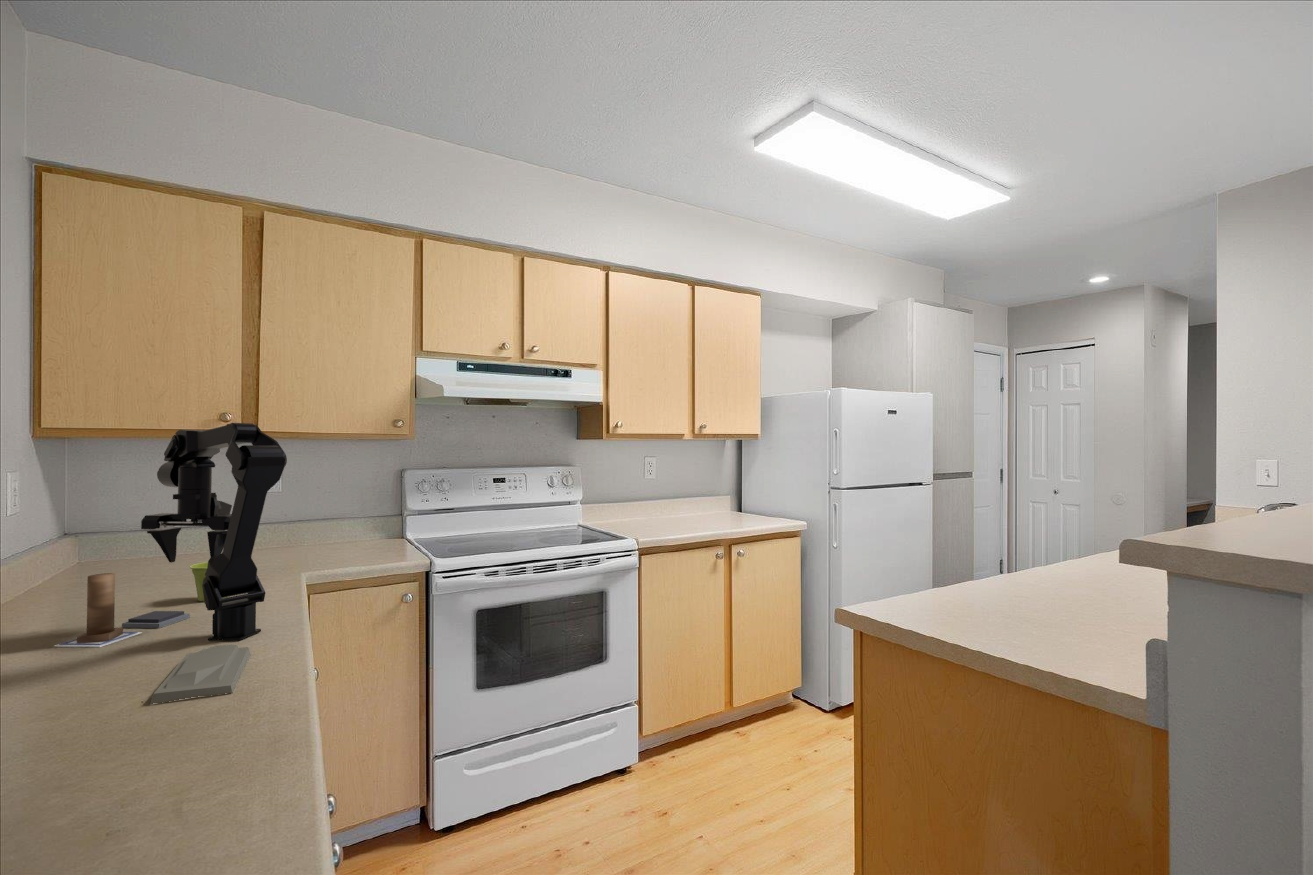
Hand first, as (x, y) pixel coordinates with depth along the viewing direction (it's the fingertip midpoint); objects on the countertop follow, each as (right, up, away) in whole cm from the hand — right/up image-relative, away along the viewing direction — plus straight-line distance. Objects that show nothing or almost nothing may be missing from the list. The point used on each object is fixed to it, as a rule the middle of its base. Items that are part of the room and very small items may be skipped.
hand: (193, 562), depth 131 cm
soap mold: (+25, -13, -31) cm, 42 cm away
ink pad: (-9, -13, +1) cm, 16 cm away
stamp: (-10, -13, -11) cm, 19 cm away
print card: (-10, -13, -11) cm, 20 cm away
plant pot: (-12, -14, +22) cm, 29 cm away
